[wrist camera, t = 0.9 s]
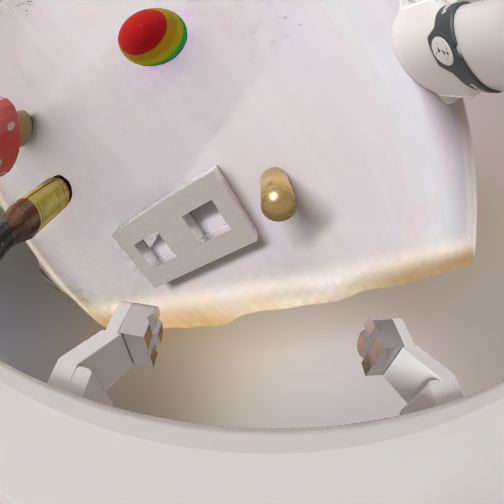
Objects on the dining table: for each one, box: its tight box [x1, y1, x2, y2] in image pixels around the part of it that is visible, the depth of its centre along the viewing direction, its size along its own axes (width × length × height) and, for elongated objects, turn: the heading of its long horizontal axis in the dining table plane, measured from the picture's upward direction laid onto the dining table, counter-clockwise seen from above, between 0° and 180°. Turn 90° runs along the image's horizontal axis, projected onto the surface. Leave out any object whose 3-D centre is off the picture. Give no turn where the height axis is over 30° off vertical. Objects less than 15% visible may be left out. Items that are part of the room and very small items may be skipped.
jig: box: [112, 165, 257, 288], centre depth 41 cm, size 20×12×3 cm, turn 119°
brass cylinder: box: [261, 168, 297, 221], centre depth 34 cm, size 4×4×9 cm
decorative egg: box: [118, 8, 187, 66], centre depth 23 cm, size 8×8×10 cm
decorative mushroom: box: [0, 97, 32, 177], centre depth 25 cm, size 13×13×15 cm
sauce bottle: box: [0, 175, 72, 260], centre depth 30 cm, size 7×6×20 cm
